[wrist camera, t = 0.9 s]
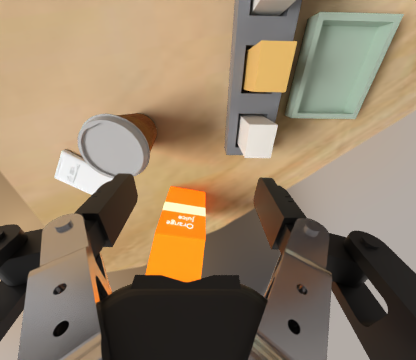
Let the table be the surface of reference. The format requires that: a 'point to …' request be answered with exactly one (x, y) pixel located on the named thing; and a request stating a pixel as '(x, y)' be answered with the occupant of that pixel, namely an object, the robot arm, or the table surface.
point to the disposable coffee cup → (117, 143)
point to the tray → (339, 63)
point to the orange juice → (179, 236)
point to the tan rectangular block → (268, 66)
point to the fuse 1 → (269, 7)
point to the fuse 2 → (255, 135)
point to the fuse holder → (243, 40)
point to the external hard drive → (78, 173)
